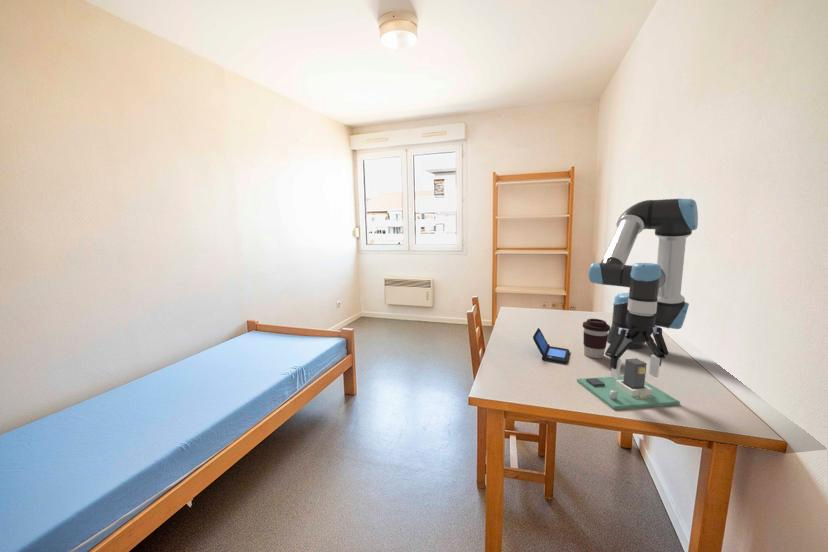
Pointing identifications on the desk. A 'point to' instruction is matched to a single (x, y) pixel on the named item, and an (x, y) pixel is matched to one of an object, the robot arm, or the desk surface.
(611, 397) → the board
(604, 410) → the desk surface
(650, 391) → the header
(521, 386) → the desk surface
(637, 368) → the plug
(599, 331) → the coffee cup
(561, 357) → the handheld game console
